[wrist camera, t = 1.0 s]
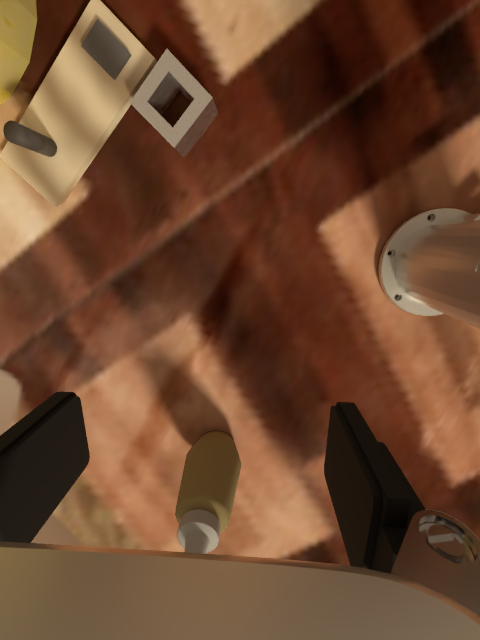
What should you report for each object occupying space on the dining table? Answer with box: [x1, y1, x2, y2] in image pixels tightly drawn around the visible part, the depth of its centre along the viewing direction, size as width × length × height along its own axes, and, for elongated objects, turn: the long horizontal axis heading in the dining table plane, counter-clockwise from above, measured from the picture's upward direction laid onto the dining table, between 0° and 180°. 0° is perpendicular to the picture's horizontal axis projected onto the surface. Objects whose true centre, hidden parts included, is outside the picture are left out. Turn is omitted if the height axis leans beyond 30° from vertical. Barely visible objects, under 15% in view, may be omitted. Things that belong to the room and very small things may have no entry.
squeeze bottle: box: [175, 431, 241, 554], centre depth 36 cm, size 8×8×18 cm
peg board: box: [0, 0, 157, 207], centre depth 30 cm, size 20×8×6 cm, turn 136°
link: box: [130, 49, 218, 157], centre depth 31 cm, size 6×6×4 cm
